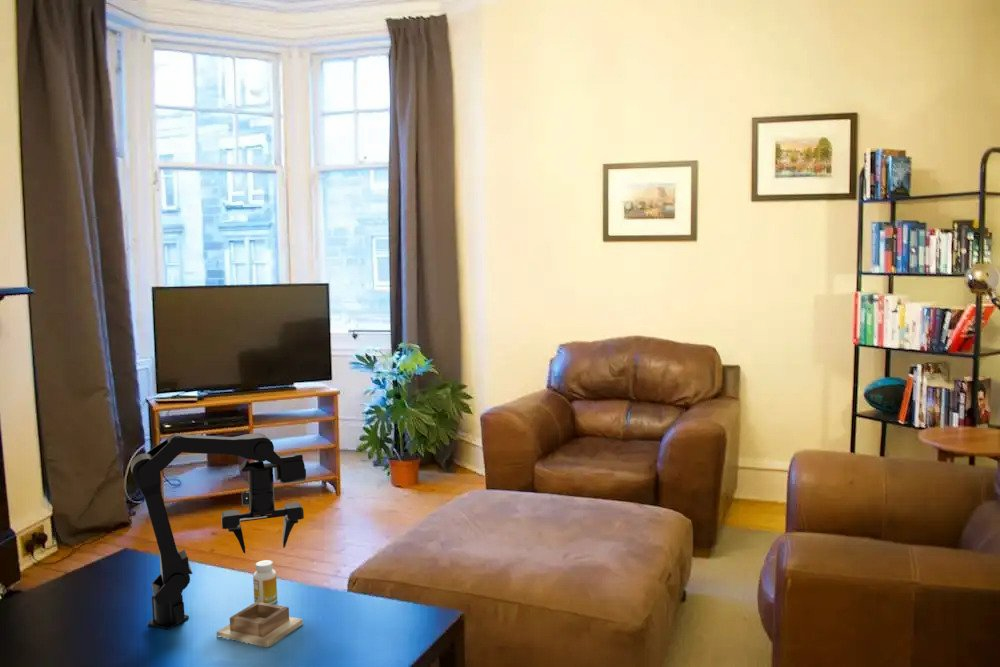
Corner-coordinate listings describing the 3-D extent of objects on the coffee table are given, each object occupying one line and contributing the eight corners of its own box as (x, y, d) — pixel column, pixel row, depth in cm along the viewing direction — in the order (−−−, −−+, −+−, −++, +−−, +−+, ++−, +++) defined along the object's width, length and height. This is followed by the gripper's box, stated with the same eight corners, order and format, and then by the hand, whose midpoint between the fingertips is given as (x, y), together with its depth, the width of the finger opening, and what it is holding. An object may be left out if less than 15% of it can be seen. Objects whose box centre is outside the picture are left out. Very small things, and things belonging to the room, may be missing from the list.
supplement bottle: (280, 597, 198) (279, 559, 197) (272, 606, 192) (270, 567, 192) (259, 596, 198) (257, 558, 198) (250, 606, 193) (248, 566, 192)
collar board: (216, 637, 177) (215, 618, 177) (253, 614, 188) (252, 597, 188) (268, 647, 172) (267, 628, 171) (302, 624, 183) (301, 606, 182)
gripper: (296, 474, 204) (299, 534, 205) (218, 482, 197) (222, 544, 198) (302, 485, 193) (305, 548, 195) (220, 494, 187) (224, 560, 188)
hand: (264, 549), depth 194 cm, fingers open, 9 cm apart
